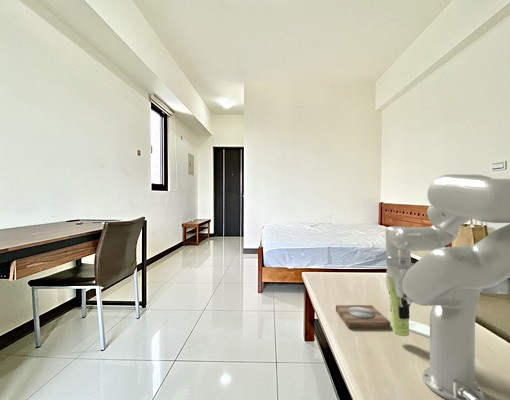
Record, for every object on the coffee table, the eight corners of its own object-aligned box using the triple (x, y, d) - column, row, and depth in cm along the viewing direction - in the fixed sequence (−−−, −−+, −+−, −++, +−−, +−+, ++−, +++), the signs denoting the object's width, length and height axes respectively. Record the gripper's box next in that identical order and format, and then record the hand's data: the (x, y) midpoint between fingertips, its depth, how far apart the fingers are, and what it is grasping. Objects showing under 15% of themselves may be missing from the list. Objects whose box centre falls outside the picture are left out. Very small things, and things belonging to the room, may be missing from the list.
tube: (404, 339, 86) (402, 279, 86) (388, 333, 90) (387, 276, 90) (411, 334, 89) (410, 276, 90) (396, 328, 93) (395, 273, 94)
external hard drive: (436, 342, 91) (399, 328, 101) (443, 334, 96) (407, 322, 106) (436, 337, 91) (399, 324, 101) (443, 330, 96) (407, 318, 106)
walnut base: (390, 328, 100) (390, 320, 100) (348, 328, 100) (348, 320, 100) (371, 310, 116) (371, 304, 116) (335, 310, 116) (335, 304, 116)
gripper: (425, 267, 82) (426, 326, 81) (395, 257, 99) (397, 306, 98) (401, 267, 82) (402, 326, 81) (376, 257, 99) (377, 306, 98)
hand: (399, 314), depth 90 cm, fingers closed on tube, 4 cm apart
